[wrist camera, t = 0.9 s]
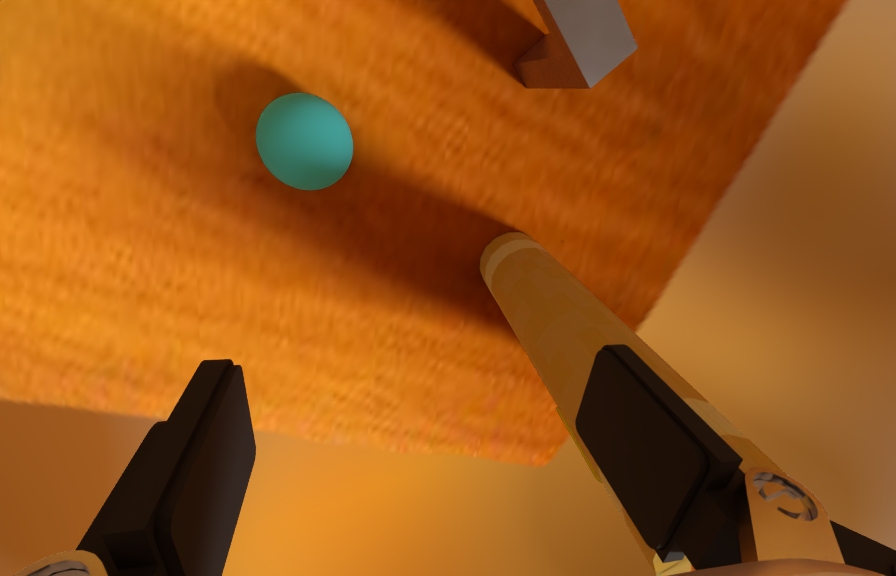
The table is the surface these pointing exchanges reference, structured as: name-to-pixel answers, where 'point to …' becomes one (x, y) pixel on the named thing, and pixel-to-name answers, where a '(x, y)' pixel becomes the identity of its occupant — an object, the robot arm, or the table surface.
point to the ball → (304, 141)
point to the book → (584, 350)
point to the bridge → (576, 44)
